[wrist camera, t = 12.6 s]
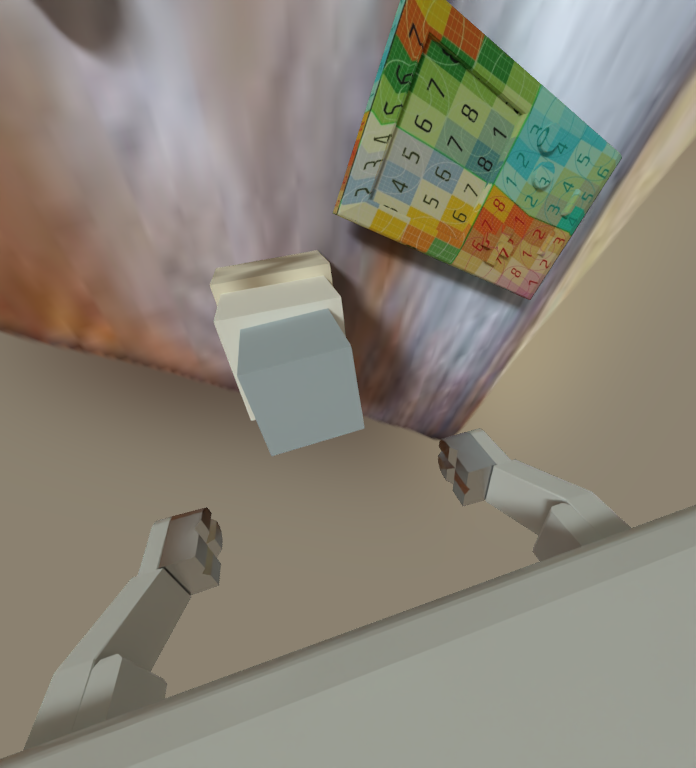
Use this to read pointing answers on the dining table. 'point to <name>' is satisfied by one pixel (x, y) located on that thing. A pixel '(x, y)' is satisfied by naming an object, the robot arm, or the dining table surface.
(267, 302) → the white block
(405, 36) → the puzzle game
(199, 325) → the dining table surface
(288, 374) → the grey cube
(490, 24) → the dining table surface
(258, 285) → the birch slab
